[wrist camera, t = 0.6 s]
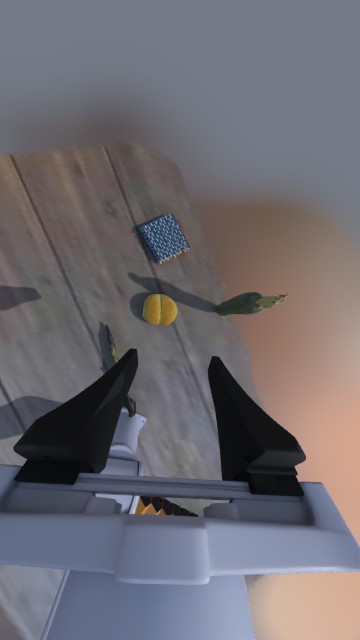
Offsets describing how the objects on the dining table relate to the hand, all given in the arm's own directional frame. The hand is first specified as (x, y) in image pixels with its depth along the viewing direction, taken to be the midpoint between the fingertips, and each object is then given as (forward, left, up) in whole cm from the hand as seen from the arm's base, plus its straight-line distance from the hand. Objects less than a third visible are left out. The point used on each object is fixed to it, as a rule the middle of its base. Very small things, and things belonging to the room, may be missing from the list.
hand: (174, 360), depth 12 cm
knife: (-13, +4, -24) cm, 27 cm away
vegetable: (+15, -10, -24) cm, 30 cm away
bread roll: (+5, +4, -24) cm, 25 cm away
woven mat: (+22, +13, -24) cm, 35 cm away
